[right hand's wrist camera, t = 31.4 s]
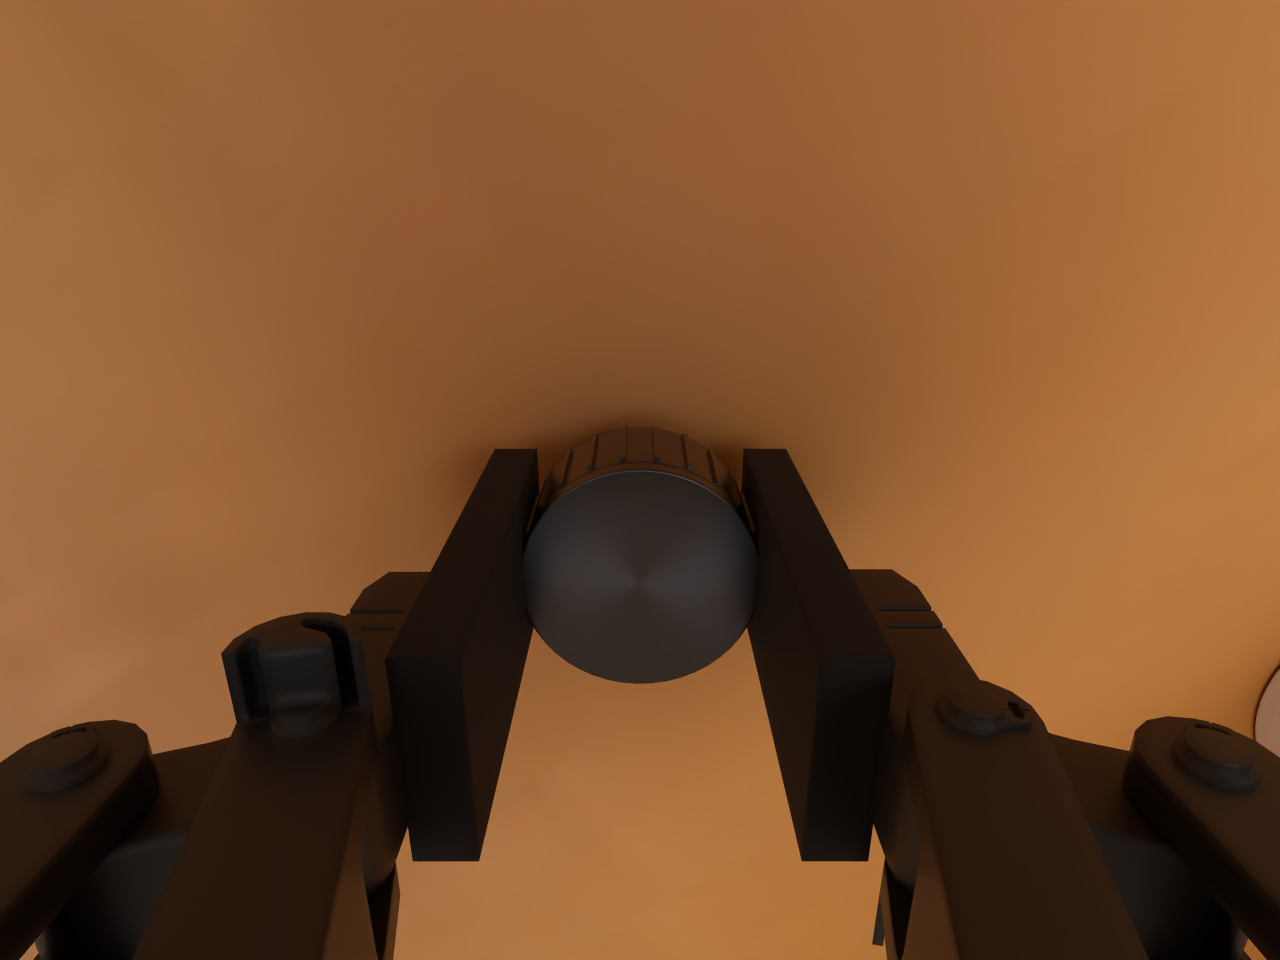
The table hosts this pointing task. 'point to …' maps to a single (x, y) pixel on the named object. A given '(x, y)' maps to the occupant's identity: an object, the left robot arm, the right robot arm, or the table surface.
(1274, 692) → the bottle
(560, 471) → the cap
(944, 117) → the table surface
